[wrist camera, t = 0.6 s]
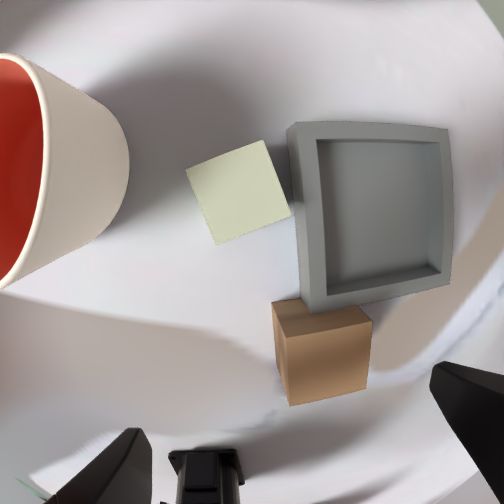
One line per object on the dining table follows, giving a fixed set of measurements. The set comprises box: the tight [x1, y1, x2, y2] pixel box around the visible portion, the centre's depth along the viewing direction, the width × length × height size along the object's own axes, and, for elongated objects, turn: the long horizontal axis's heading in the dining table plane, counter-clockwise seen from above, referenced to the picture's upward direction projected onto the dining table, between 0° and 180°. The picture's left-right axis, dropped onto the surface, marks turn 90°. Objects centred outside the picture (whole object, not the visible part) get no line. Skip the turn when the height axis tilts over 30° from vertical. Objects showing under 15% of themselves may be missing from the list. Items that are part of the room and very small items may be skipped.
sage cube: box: [185, 140, 292, 245], centre depth 16 cm, size 4×4×4 cm
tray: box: [286, 121, 453, 314], centre depth 18 cm, size 11×11×3 cm
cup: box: [0, 53, 130, 290], centre depth 12 cm, size 10×10×10 cm
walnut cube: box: [271, 298, 373, 406], centre depth 18 cm, size 5×5×5 cm
